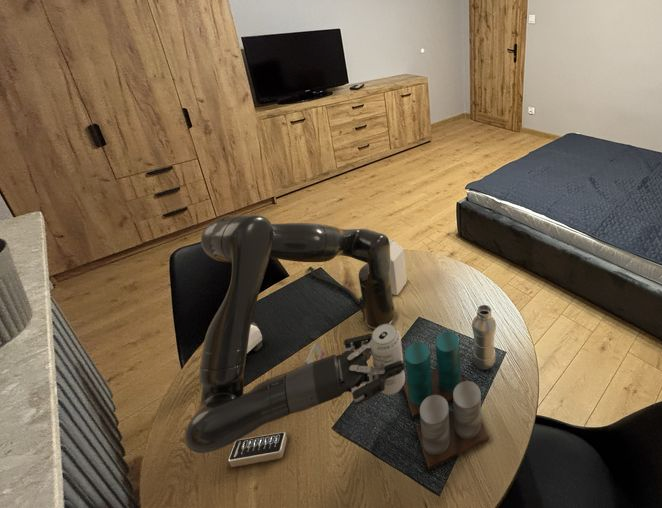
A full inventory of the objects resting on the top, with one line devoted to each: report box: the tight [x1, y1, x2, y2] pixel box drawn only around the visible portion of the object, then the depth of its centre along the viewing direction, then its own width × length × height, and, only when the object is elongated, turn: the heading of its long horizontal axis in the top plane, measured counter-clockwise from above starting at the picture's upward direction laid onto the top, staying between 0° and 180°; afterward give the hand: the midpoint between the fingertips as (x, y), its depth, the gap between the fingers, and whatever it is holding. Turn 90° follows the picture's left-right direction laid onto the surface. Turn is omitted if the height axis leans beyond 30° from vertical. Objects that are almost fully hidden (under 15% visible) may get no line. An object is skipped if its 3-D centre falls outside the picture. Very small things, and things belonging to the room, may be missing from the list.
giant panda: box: [247, 322, 263, 354], centre depth 105 cm, size 15×6×10 cm, turn 157°
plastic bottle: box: [471, 304, 497, 371], centre depth 101 cm, size 6×7×20 cm
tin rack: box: [416, 380, 490, 471], centre depth 85 cm, size 15×9×12 cm, turn 114°
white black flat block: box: [227, 431, 288, 468], centre depth 84 cm, size 4×11×2 cm, turn 99°
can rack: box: [402, 331, 464, 419], centre depth 95 cm, size 15×9×16 cm, turn 114°
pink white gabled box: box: [304, 340, 327, 365], centre depth 100 cm, size 4×7×10 cm, turn 178°
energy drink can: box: [370, 323, 406, 396], centre depth 77 cm, size 6×6×15 cm
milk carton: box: [389, 237, 408, 296], centre depth 130 cm, size 7×7×19 cm
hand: (399, 351), depth 77 cm, fingers closed on energy drink can, 6 cm apart
